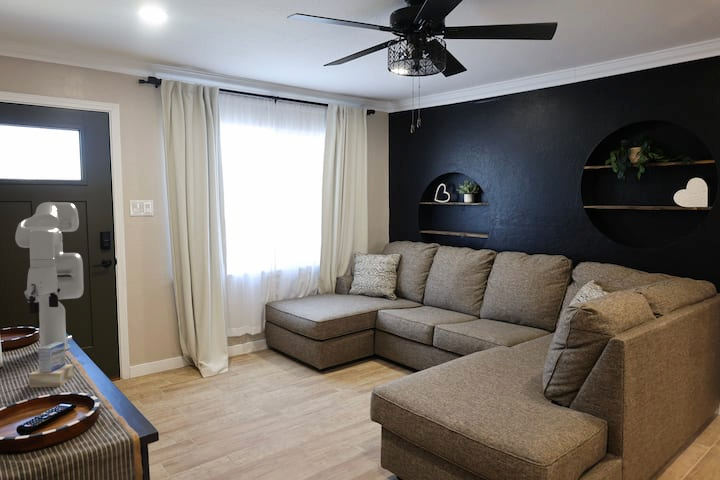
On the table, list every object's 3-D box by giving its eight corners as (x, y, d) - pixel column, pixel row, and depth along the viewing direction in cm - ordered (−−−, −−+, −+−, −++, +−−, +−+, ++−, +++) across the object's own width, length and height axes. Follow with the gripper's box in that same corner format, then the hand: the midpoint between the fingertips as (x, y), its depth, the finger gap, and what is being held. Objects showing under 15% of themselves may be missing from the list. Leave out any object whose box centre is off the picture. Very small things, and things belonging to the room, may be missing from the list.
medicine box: (51, 372, 167) (50, 348, 166) (38, 372, 167) (37, 348, 166) (65, 365, 175) (65, 342, 174) (53, 365, 175) (53, 341, 174)
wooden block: (45, 378, 175) (44, 364, 175) (74, 377, 176) (73, 364, 176) (29, 388, 165) (29, 374, 165) (60, 387, 166) (59, 373, 166)
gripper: (49, 259, 180) (50, 304, 182) (14, 266, 163) (16, 315, 164) (68, 260, 180) (70, 305, 181) (35, 267, 163) (37, 316, 164)
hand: (44, 310), depth 173 cm, fingers open, 9 cm apart
